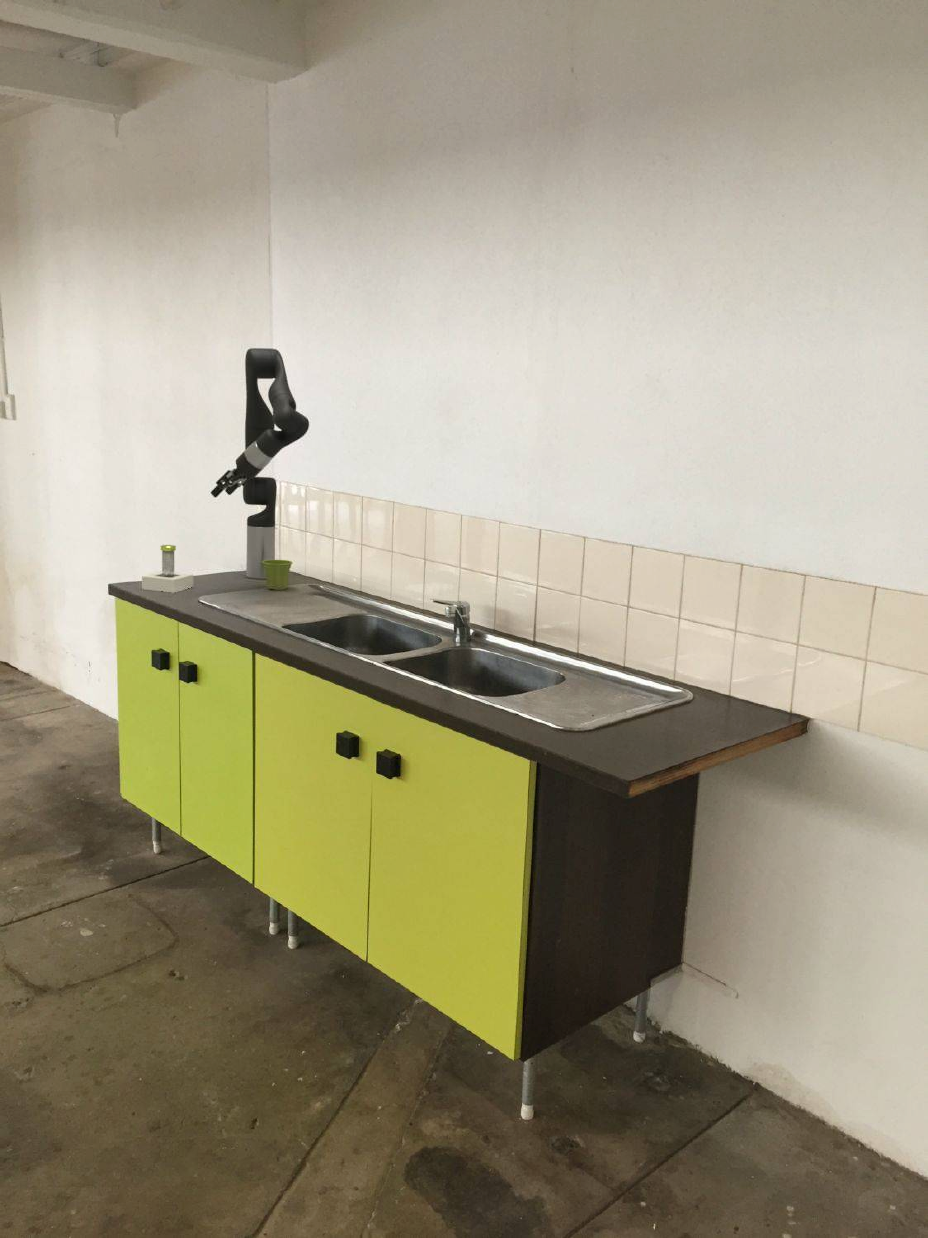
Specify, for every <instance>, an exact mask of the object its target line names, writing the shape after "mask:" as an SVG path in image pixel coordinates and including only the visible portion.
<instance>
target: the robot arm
mask: <svg viewBox="0 0 928 1238" xmlns="http://www.w3.org/2000/svg"><path fill="white" fill-rule="evenodd" d="M244 360H245V361H244V365H245V366H244V367H245V369H244V371H245V391H246V393H245V395H246V399H245V400H246V401H245V422H244V423H245V424H244V442H245V443H244V446H245V447H244V451H243V452H241V454H240V455H239V456H238V457H237V458H236V459H235V464H236V468H233V469H231V470H230V469H228V470H226V472H225V473H223V474H222V476H220V478H219V479H218V480H216V482H215V484H216V486H215V487H214V488H213V489H212V490H211V491H210V494H211V495H212V496H213V498H217V497H219V495H221V493H222V492H223V491H225V493H227V495H228V496H231V495H232V494H233V493H234V492H235V491H236V490H237V489H238V488H241V487H242V499H243V502H244V504H245V505H249V506H265V508H264V509H263V510H261V511H259V512H258V513H254V514H251V515H249V516H248V517H247V519H246V570H245V571H246V575H245V576H246V577H247V578H249V579H259V580H261V579H262V580H264V579H265V580H266V573H265V568H264V564H263V563H262V561H264V560H276V508H277V507H276V505H277V504H276V503H277V492H278V491H277V490H278V485H277V480H276V479H275V478H274V477H269V476H265V477H264V476H258V475H259V474H260V473H261V471H262V470H264V469H265V467H267V466H268V465H269V464H270V463H271V461H272V460H273V459H274V458H275V456H276V455H278V454H279V452H280V451H281V450H282V449H284V448H285V447H288V446H289V445H291V444H293V443H295V442H297V441H298V440H300V439H302V438H303V437H304V436H305V435H306V434H307V432H308V430H309V428H310V421H309V419H308V417H307V416H305V415H303V414H302V413H300V412H299V411H297V403H296V399H295V397H294V396H293V393H292V391H291V389H290V385H289V382H288V377H287V376H288V375H287V372H286V367H285V363H284V359H283V356H282V353H280V350H278V349H276V348H266V347H265V348H263V347H258V348H256V347H253V348H251V347H250V348H249V349H247V350H246V353H245V359H244ZM261 379H262V380H263V379H264V380H266V379H267V380H272V379H273V381H272V383H271V385H270V386H269V389H268V393H267V396H268V401H269V403H270V405H271V409H272V412H271V410H270V408H269V407H268V405H267V403H266V402H265V400H264V398H263V397H262V394H261V392H260V389H259V385H258V383H259V382H258V380H261ZM275 426H276V428H278V429H279V430H277V429H275Z"/></svg>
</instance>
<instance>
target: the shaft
mask: <svg viewBox="0 0 928 1238" xmlns="http://www.w3.org/2000/svg"><path fill="white" fill-rule="evenodd" d="M176 547H177V546H176V545H174V544H162V545H160V550H161V571H162V577H168V578H172V577H174V573H175V551H176V549H177V548H176Z"/></svg>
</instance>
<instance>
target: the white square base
mask: <svg viewBox="0 0 928 1238" xmlns="http://www.w3.org/2000/svg"><path fill="white" fill-rule="evenodd" d="M191 587H193V588H194V574H189V573H181V572H174V577H172V578H168V577H162V570H161V571H158V572H154V573H150V574H146V575H142V576H141V589H142V590H146V591H152V592H153V591H154V592H161V591H163V593H169V592H170V593H171V594H175V592H176V593H178V591H179V592H182V591H186V590H189V589H192V588H191ZM188 588H189V589H188ZM185 589H186V590H185Z"/></svg>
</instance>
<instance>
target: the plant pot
mask: <svg viewBox="0 0 928 1238" xmlns="http://www.w3.org/2000/svg"><path fill="white" fill-rule="evenodd" d="M262 563H263V564H264V568H265V573H266V579H265V580H266V587H267V589H268V590H274V591H283V590H287V589H288V582H289V577H290V571H291V568H292V564H293V561H291V560H287V559H275V560H264V561H262Z"/></svg>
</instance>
